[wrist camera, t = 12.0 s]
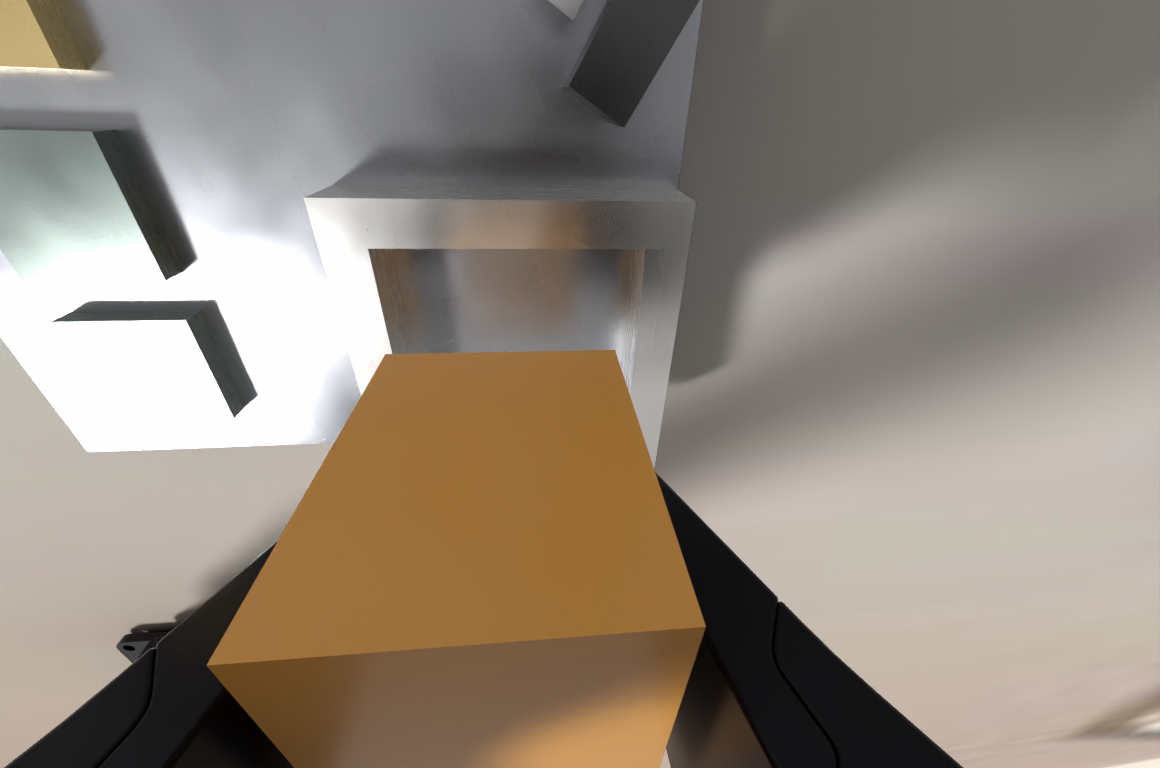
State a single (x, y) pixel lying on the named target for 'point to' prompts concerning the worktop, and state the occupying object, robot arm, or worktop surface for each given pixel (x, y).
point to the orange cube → (474, 579)
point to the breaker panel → (332, 201)
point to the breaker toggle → (568, 7)
